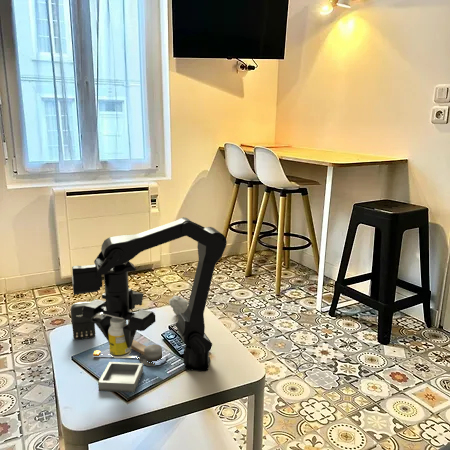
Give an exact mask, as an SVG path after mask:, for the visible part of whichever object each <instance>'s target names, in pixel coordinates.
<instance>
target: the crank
mask: <svg viewBox="0 0 450 450" xmlns="http://www.w3.org/2000/svg"><path fill="white" fill-rule="evenodd" d="M131 350H133V351H135V352H137V353H139V354H140V355H142V354H143V355H144V358H145V359H146V360H147V361H157V360H159V359H161V358H162V351H163V348H162V346H161V345H160V344H155V343H154V344H149V345H145V344H142V343H141V342H140V341H137V340H135V339H133V342H132V345H131Z"/></svg>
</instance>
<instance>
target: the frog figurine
mask: <svg viewBox="0 0 450 450" xmlns="http://www.w3.org/2000/svg"><path fill="white" fill-rule="evenodd" d="M168 302H169V306H170V307H171V308H172V311H173V313H174V314H175V315H176V316H178V314H179V312H180V313H184V312H185V311H186V309H187V307H188V304H189V301H188V300H187V299H186V298H183V297H181V296H179V295H173V296H172V298H170V299H168Z"/></svg>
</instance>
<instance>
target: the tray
mask: <svg viewBox="0 0 450 450" xmlns="http://www.w3.org/2000/svg"><path fill="white" fill-rule="evenodd" d="M142 372H143V373H144V365H143V363H140V362H124V361H123V362H122V361H109V362H108V364H107V366H106V367H105V370H104V371H103V373H102V374H101V377H100V378H99V379H98V381H97V383H98V384H97V385H98V388H97V389H98V392H111V393H112V392H113V393H114V392H115V393H117V392H118V391H119V392H118V393H133V392H134V393H135V392H136V390H137V388H138V385H139V383H140V380H141V378H140V377H142V376H141V375H143V373H142ZM139 379H140V380H139ZM138 382H139V383H138ZM136 387H137V388H136ZM122 391H123V392H122Z"/></svg>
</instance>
